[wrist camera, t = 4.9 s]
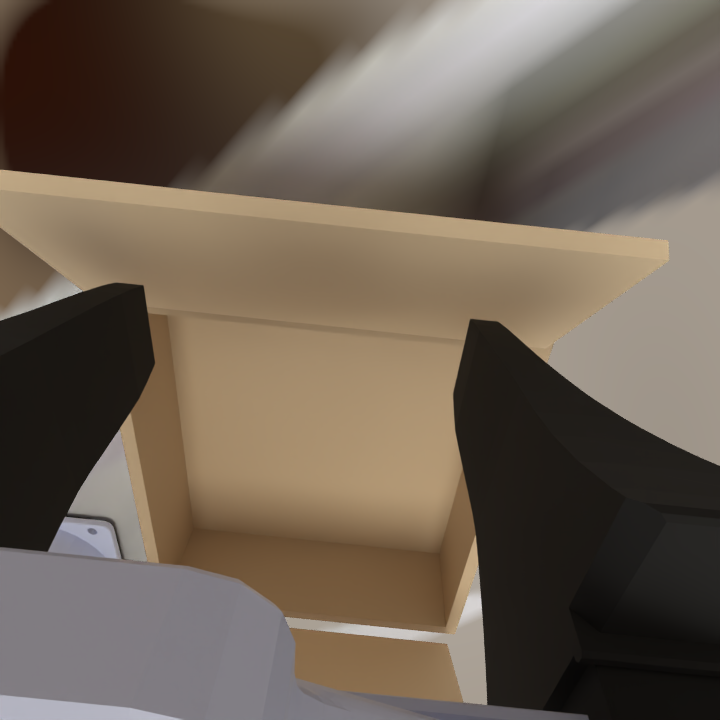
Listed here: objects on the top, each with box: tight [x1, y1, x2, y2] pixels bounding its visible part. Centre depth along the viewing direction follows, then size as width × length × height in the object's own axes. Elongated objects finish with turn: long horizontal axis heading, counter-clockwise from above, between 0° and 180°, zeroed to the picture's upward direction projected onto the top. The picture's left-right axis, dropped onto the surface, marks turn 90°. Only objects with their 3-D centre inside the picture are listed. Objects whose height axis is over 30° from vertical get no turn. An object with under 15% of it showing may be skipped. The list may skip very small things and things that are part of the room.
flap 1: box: [0, 170, 669, 349], centre depth 12 cm, size 13×6×1 cm
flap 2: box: [289, 628, 463, 703], centre depth 21 cm, size 13×6×1 cm
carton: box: [120, 307, 554, 634], centre depth 22 cm, size 14×16×4 cm
